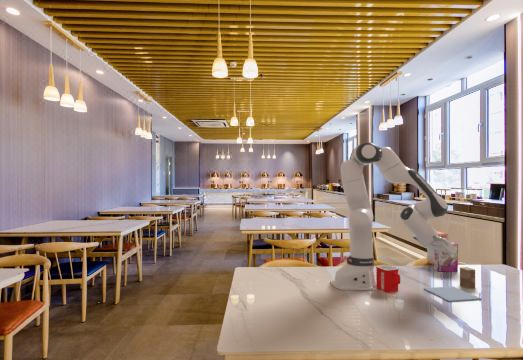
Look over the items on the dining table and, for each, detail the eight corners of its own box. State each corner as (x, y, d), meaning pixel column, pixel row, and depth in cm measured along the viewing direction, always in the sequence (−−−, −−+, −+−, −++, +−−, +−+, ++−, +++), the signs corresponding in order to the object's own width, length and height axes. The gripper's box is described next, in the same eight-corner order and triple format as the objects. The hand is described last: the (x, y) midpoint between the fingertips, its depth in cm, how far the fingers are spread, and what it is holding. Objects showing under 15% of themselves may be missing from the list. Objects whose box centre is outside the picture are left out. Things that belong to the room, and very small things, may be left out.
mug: (374, 287, 152) (374, 266, 152) (387, 285, 155) (387, 264, 155) (392, 296, 141) (392, 272, 141) (406, 293, 144) (406, 270, 144)
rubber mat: (448, 301, 134) (448, 300, 134) (423, 289, 149) (423, 288, 149) (481, 299, 136) (481, 298, 136) (453, 287, 152) (453, 286, 152)
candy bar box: (438, 272, 178) (437, 243, 179) (434, 269, 183) (433, 241, 184) (458, 272, 177) (458, 243, 178) (454, 270, 182) (453, 242, 183)
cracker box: (448, 268, 186) (448, 233, 186) (438, 268, 186) (438, 233, 186) (436, 262, 200) (436, 230, 200) (426, 262, 200) (426, 230, 200)
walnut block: (468, 288, 150) (467, 270, 150) (459, 285, 155) (459, 267, 155) (475, 288, 151) (475, 269, 151) (467, 284, 156) (467, 267, 156)
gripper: (447, 233, 140) (466, 254, 142) (417, 227, 160) (434, 245, 162) (438, 243, 139) (458, 264, 141) (409, 236, 159) (427, 254, 161)
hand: (445, 254), depth 151 cm, fingers open, 8 cm apart
